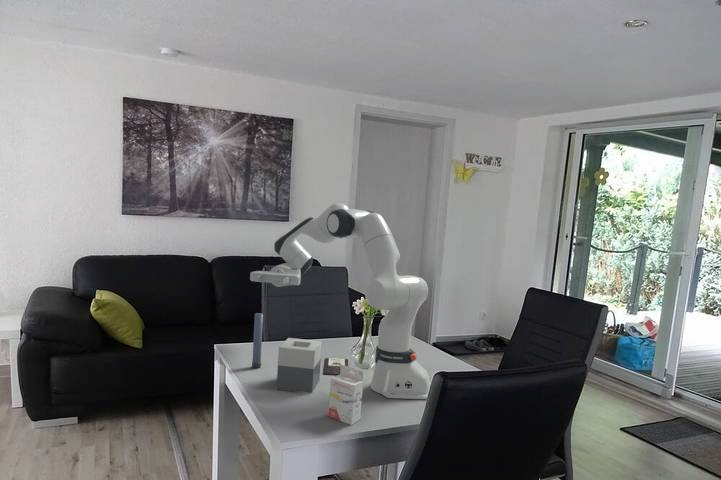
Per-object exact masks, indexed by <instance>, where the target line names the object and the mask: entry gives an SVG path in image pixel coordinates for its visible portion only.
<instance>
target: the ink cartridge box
mask: <svg viewBox="0 0 721 480" xmlns="http://www.w3.org/2000/svg"><path fill="white" fill-rule="evenodd" d="M351 371H352V372H353V373H351ZM363 377H364V372H363V370H361V369H359V368H355V367H351V366H349V365H348V366H345V365H341V366H340V374H339V375H334V376H332V377H331V378H330V387H329V388H330V389H329V400H328V413H327V414H328V416H327V417H329V418H332V419H334V420H337V421H340V422H343V423H345V424H348V425H351V426H352V425H354V424H355V423H357V422H359V421H360V420H361V414H362V401H363V400H362V399H363V390H364V389H363V387H364V380H363Z"/></svg>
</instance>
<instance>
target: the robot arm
mask: <svg viewBox="0 0 721 480" xmlns="http://www.w3.org/2000/svg"><path fill="white" fill-rule="evenodd" d="M301 235H305V236H308V237H309V238H311V239H312V240H315V242H319V243H321V244H330V243H331V242H333V241H335V240H336V239H337V238H338V239H343V238H346V239H354V240H358V239H360V240H361V243H362V246H363V248H364V249H363V250H364V251H365V254H366V257H367V260H368V263H369V267H370V278H369V282H368V283H367V284H366V286H365V290H364V296H365V300H366V302H367V304H368V305H369V306H370V308H372V309H375V310H377V309H378V310H382V311H388V313H387V314H386V316H385V317H383V319H382V320H381V321H380V323H379V325H378V334H377V335H378V336H377V345H376V347H375V353H374V354H375V355H374V362H375V365H374V371H373V375H372V379H371V381H370V383H369V388H370V390H372V391H374V392H376V393H378V394H380V395H382V396H384V397H385V398H387V399H404V400H405V399H406V400H407V399H410V400H428V399H427V394H428V391H429V387H430V383H431V382H430V377H429V376H430V375H429V373H428V371H427V370H426V369H425V367H423V366H422V365H421V364H420V363H419V362H418V361H416V360H417V354H416V352H415V350H414V349H412V348H411V338H412V329H413V325H414V322H415V318H416V316H417V314H418V311H419V309H420V307H421V306H422V304H424V302H425V301H426V300H427V299H428V296H429V287H428V284H427V281H425V279H424V278H423V277H420V276H416V275H413V274H412V275H410V274H408V275H399V274H398V273H397V264H398V262H399V261H400V259H401V254H400V251H399V248H398V245H397V243H396V241H395V238H394V236H393V234H392V231H391V229H390V227H389V226H388V223H387V222H386V220H385V219H384V217H383V216H382V215H381V213H380V214H379V213H377V212H374V211H371V210H363V209H362V210H361V209H356V208H349V206H347V205H346V204H345V203H343V202H335V203H332V204H331V205H329V206H328V207H327V208H326V209H325V210H323V212H322V213H320V215H319V216H318V217H312V216H310V217H308V218H305V219H304V220H302V221H301V222H299V223H298V224H297V225H296V226H295V227H293V228H291V230H289V231H288V232H287V233H285V234H283V235H280V236H279V237H278V238H277V239H276V240H275V242H274V245H273V246H274V252H275V253H277V255H278V256H279V257H281V258H282V260H284V261H285V263H281V264H278V265H275V266H273V267H272V268H271V269H270V270H255V271H251V272H250V273H249V274H250V275H249V276H250V277H249V280H250V281H251V282H257V283H258V282H259V283H267V284H268V283H271V284H272V285H273V286H275V287H277V288H281V287H288V286H299V285H301V278H302V276H303V275H305V274H306V273H307V272H308V271H309V270H310V269H311V267H312V265H313V262H314V260H313V259H314V257H313V256H312V255H311V254H310V252H308V250H306V249H305V247H303V246H302V245H301V244H300V242H298V240H297V238H298V237H299V236H301Z"/></svg>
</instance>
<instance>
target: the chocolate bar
mask: <svg viewBox="0 0 721 480" xmlns="http://www.w3.org/2000/svg"><path fill="white" fill-rule="evenodd" d="M324 359H325V360H324V368H323V376H324V375H325V376H337V375H339V374H340V366H341V365H345V366H348V367H349V359H348V358H333V357H325V358H324Z"/></svg>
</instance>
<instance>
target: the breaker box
mask: <svg viewBox="0 0 721 480" xmlns="http://www.w3.org/2000/svg"><path fill="white" fill-rule="evenodd" d="M322 344H323V341H322V340H313V339H304V338H303V339H302V338H293V337H288V338H287V339H285V341H284V342H283V343H282V344H280V345H279V346H278V355H277V356H278V358H277V370H276V371H277V375H276V389H275V390H280V391H281V390H283V391H291V392H300V393H307V394H308V393H310V394H313V392H314V391H315V389H316V387H317V385H318V384H319V381H320V380H321V379H320V377H321V376H320V375H321V365H322V363H321V362H322V361H321V360H322V359H321V358H322Z"/></svg>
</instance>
